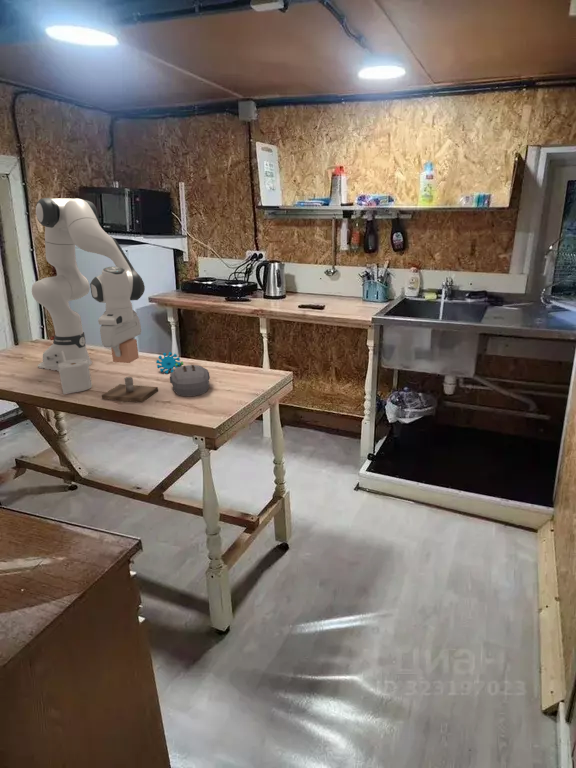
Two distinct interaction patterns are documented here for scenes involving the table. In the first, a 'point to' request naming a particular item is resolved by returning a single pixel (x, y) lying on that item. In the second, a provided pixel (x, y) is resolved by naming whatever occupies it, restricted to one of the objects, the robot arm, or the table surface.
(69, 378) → the toilet tissue
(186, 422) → the table surface
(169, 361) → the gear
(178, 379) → the small grey backpack
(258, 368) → the table surface
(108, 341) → the robot arm
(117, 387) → the stub plate
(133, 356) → the salmon orange block
